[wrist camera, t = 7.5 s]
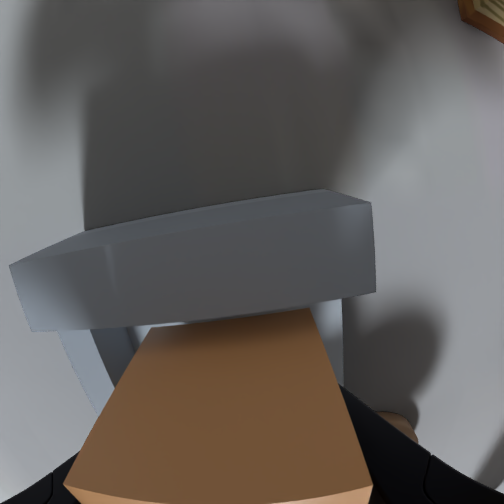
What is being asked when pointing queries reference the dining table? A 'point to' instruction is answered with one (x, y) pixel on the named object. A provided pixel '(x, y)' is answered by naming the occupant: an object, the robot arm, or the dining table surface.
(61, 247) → the notched board
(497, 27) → the diary
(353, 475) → the block
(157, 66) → the dining table surface
